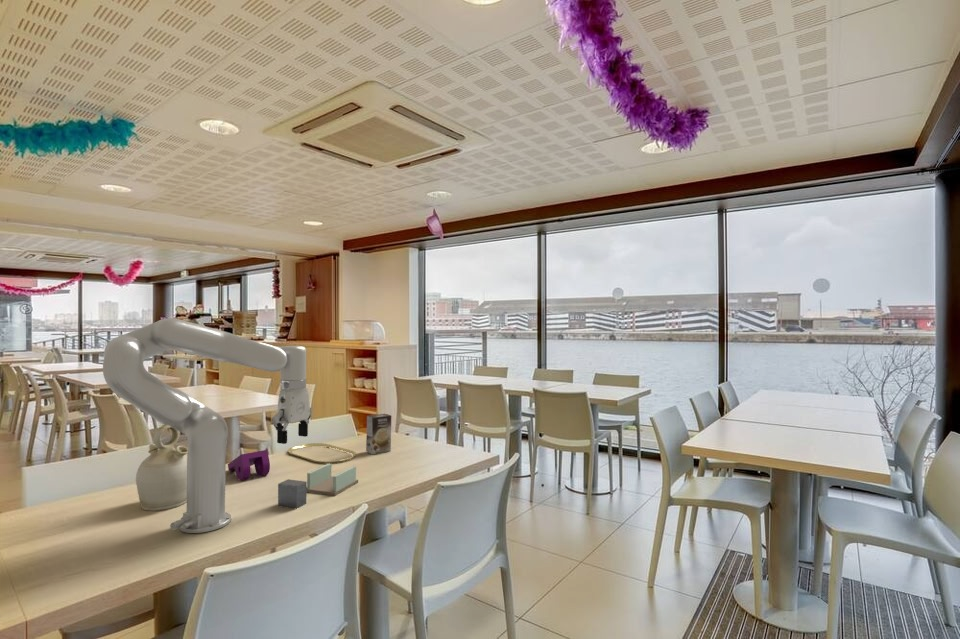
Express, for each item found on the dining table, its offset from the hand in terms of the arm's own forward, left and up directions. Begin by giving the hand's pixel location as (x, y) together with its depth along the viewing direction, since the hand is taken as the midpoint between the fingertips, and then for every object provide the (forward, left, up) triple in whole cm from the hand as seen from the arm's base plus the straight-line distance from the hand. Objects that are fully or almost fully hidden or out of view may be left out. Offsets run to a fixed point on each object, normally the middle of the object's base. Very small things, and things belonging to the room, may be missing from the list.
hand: (292, 439), depth 152 cm
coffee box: (+64, +6, -21) cm, 67 cm away
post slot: (+18, -2, -20) cm, 27 cm away
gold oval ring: (+52, +27, -21) cm, 62 cm away
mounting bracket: (+20, +37, -21) cm, 47 cm away
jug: (-12, +38, -21) cm, 45 cm away
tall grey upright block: (0, 0, -20) cm, 21 cm away
